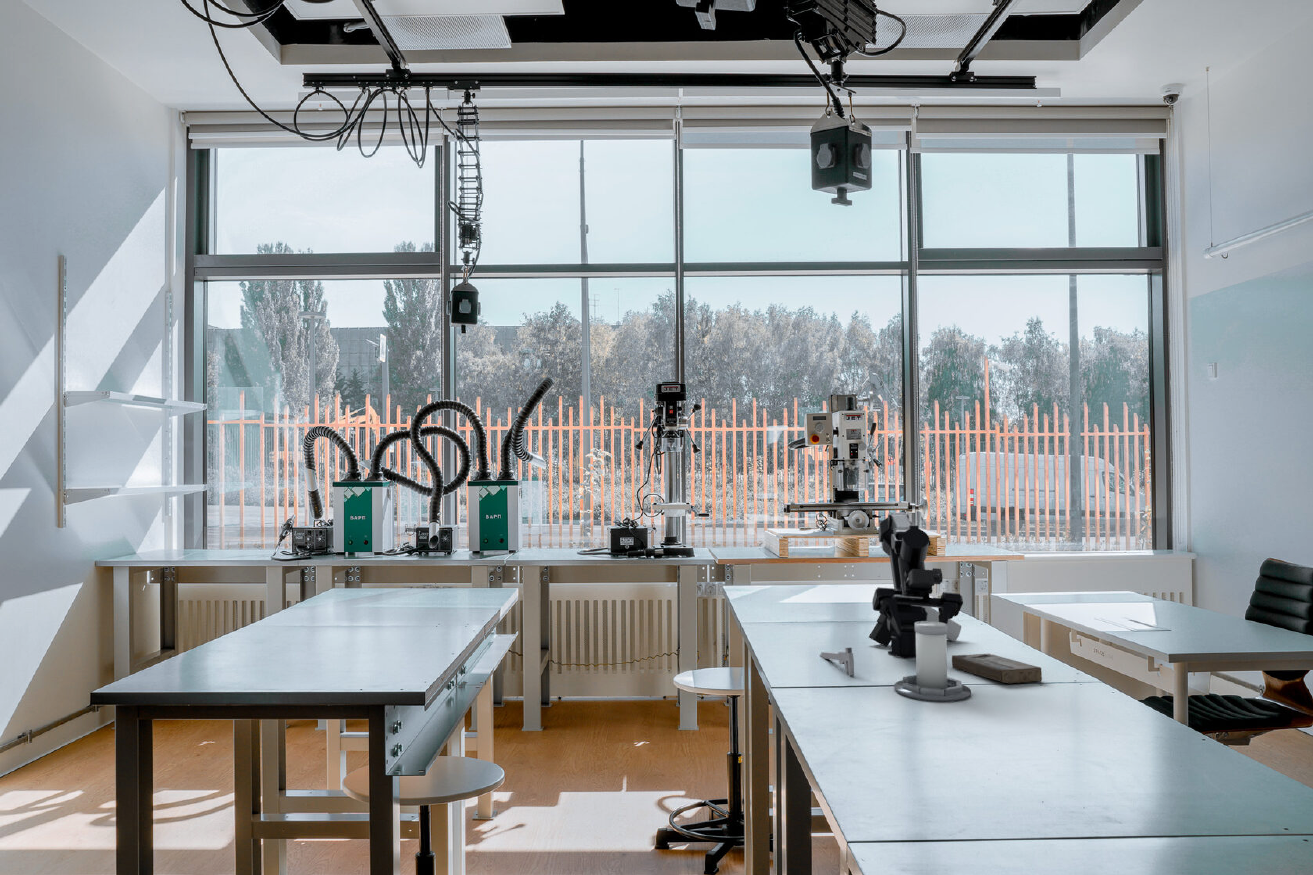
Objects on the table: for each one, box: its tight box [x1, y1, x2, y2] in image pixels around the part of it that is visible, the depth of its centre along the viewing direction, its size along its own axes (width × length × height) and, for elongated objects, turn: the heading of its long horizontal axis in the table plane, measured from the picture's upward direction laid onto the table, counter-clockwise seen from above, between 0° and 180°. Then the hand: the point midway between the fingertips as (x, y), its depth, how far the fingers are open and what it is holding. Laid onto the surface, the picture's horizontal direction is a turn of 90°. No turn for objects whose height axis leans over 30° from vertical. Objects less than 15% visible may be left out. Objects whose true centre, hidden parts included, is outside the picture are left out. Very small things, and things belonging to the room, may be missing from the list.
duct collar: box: [893, 674, 972, 703], centre depth 170 cm, size 15×15×2 cm
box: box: [951, 653, 1043, 685], centre depth 184 cm, size 11×17×3 cm, turn 16°
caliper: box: [819, 647, 855, 677], centre depth 193 cm, size 20×1×6 cm, turn 8°
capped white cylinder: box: [915, 621, 948, 689], centre depth 170 cm, size 6×6×13 cm
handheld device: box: [868, 607, 962, 647], centre depth 217 cm, size 4×22×15 cm, turn 105°
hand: (921, 635), depth 179 cm, fingers open, 9 cm apart
